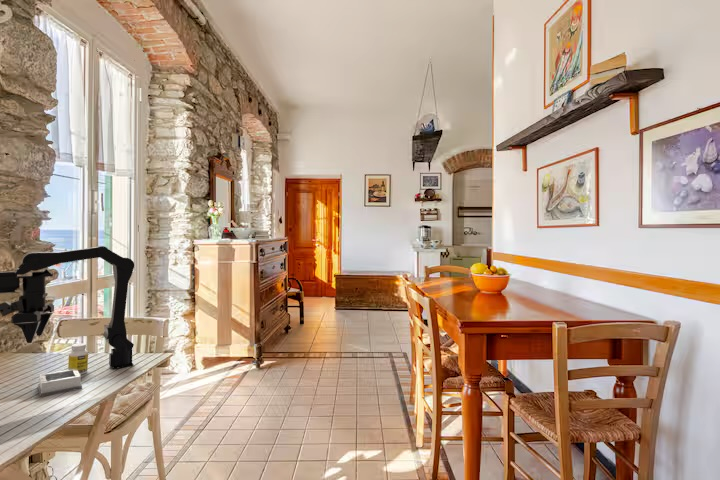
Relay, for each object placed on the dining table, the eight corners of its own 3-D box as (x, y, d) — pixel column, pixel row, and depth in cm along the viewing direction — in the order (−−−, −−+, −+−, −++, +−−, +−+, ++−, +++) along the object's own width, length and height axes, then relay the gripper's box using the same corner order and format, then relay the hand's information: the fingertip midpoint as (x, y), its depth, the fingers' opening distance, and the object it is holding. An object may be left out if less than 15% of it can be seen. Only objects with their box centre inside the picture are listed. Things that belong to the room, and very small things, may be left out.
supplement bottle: (77, 376, 130) (78, 347, 130) (64, 375, 131) (64, 346, 131) (91, 371, 135) (92, 343, 135) (78, 369, 136) (79, 342, 136)
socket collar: (77, 379, 127) (77, 367, 127) (81, 388, 120) (82, 376, 120) (37, 386, 121) (38, 374, 121) (40, 396, 113) (40, 383, 113)
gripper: (13, 288, 130) (13, 334, 130) (-12, 297, 113) (-12, 350, 113) (54, 286, 135) (54, 331, 135) (36, 294, 118) (36, 345, 118)
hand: (34, 339), depth 125 cm, fingers open, 9 cm apart
